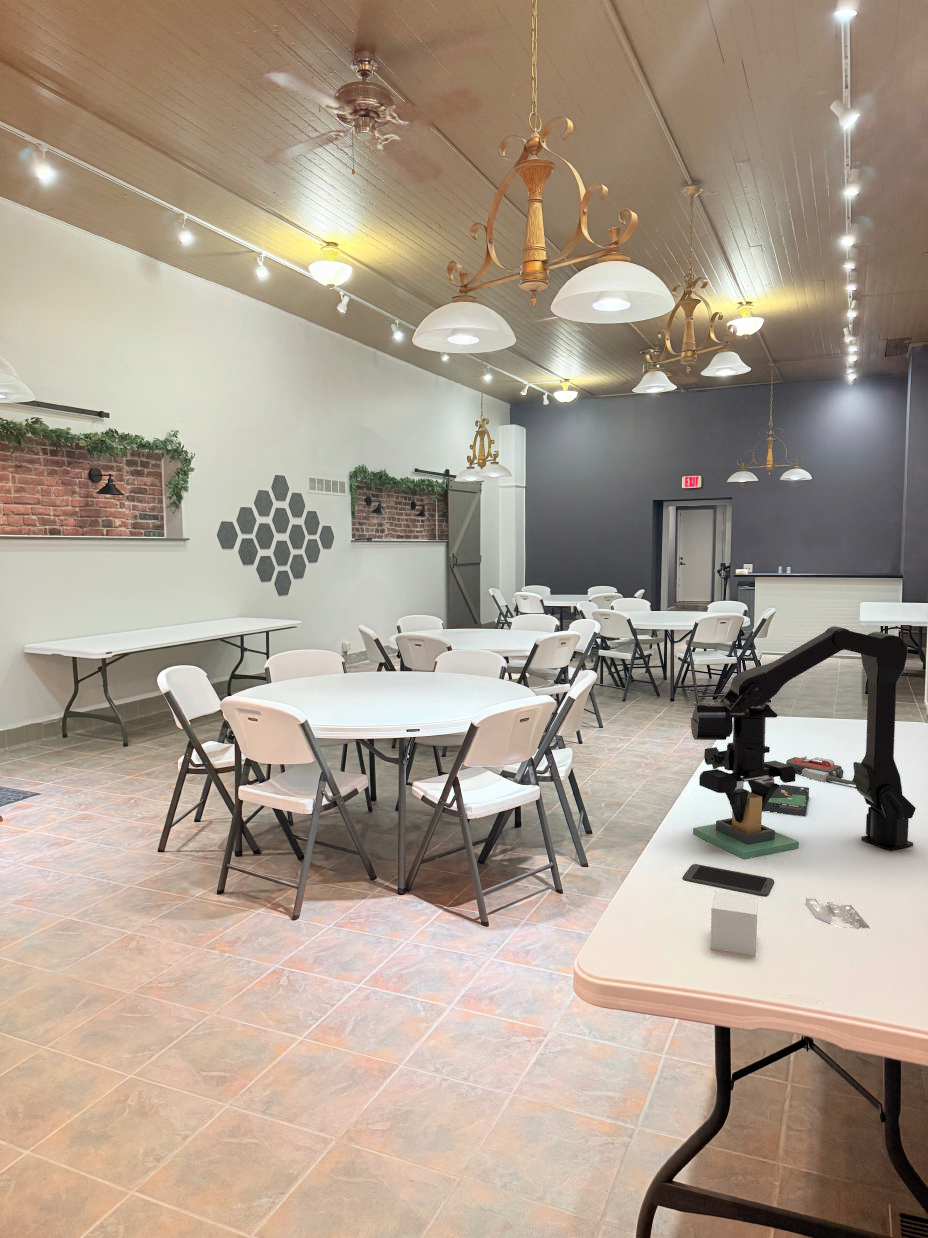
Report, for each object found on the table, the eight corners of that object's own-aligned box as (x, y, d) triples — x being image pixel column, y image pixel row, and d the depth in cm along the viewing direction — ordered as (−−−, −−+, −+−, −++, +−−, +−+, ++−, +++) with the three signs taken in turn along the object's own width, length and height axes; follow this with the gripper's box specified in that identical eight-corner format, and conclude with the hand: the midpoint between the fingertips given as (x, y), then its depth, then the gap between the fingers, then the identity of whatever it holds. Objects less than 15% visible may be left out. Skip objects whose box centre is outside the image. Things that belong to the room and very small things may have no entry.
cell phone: (692, 867, 144) (692, 863, 144) (775, 883, 137) (775, 878, 137) (680, 882, 137) (681, 878, 137) (767, 899, 130) (767, 895, 130)
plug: (760, 838, 153) (762, 796, 152) (748, 840, 152) (749, 798, 151) (740, 828, 158) (742, 788, 157) (728, 831, 157) (729, 790, 156)
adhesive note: (756, 937, 118) (758, 897, 117) (755, 956, 112) (757, 914, 111) (713, 930, 120) (714, 890, 119) (710, 949, 114) (711, 908, 114)
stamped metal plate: (805, 907, 128) (805, 898, 128) (850, 908, 127) (851, 899, 127) (822, 930, 120) (822, 921, 120) (870, 932, 120) (871, 923, 120)
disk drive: (759, 793, 186) (753, 812, 173) (760, 781, 186) (754, 799, 172) (808, 799, 182) (806, 819, 168) (809, 787, 182) (807, 805, 168)
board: (798, 848, 151) (799, 832, 151) (744, 859, 146) (744, 843, 146) (744, 824, 164) (745, 810, 164) (693, 834, 159) (693, 819, 158)
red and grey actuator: (775, 773, 201) (858, 791, 186) (776, 756, 201) (859, 772, 186) (793, 767, 207) (874, 784, 192) (793, 750, 207) (875, 765, 192)
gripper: (755, 726, 164) (753, 801, 165) (681, 735, 156) (679, 814, 158) (798, 738, 154) (796, 818, 155) (720, 749, 146) (719, 833, 148)
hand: (746, 820), depth 154 cm, fingers open, 4 cm apart
